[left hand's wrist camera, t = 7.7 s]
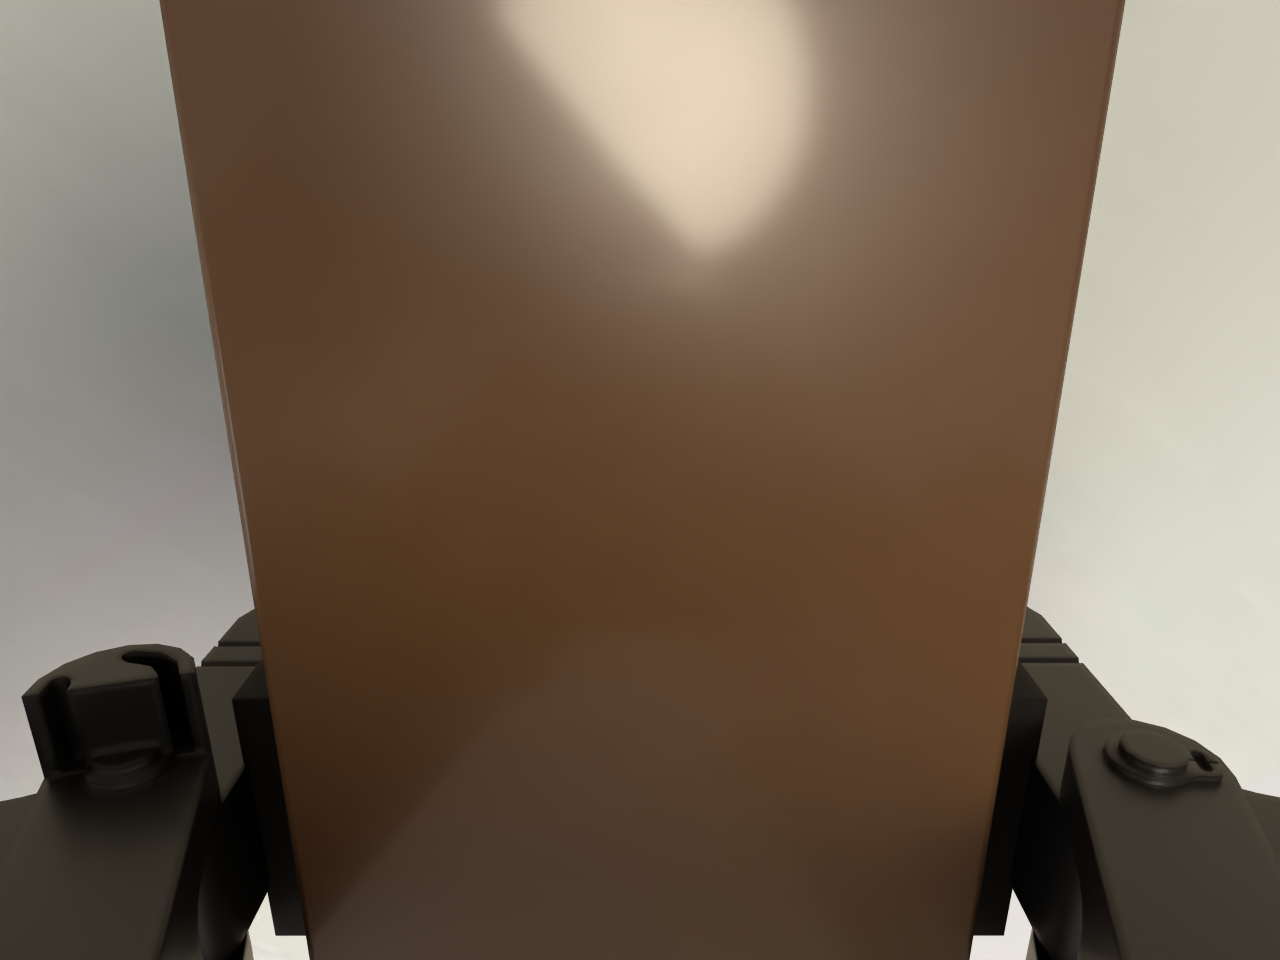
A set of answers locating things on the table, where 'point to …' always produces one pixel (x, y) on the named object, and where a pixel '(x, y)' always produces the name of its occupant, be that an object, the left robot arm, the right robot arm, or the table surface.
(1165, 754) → the left robot arm
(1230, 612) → the table surface
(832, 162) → the post
